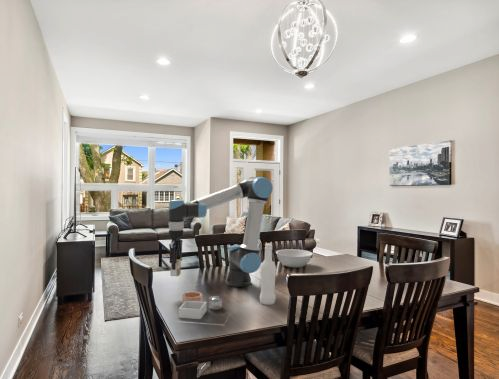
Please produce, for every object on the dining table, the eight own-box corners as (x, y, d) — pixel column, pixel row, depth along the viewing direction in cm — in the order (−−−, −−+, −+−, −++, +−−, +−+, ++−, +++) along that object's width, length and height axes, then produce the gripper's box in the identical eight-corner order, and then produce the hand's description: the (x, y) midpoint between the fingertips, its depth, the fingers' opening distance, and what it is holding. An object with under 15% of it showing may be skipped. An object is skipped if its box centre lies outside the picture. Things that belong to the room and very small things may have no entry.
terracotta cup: (203, 303, 169) (203, 292, 169) (198, 309, 160) (198, 298, 160) (186, 302, 170) (186, 291, 170) (180, 308, 161) (180, 297, 161)
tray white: (206, 312, 157) (206, 302, 157) (200, 321, 147) (200, 309, 147) (185, 311, 158) (185, 300, 158) (178, 319, 148) (178, 308, 148)
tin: (223, 306, 164) (223, 296, 164) (220, 311, 158) (220, 300, 158) (210, 306, 165) (210, 295, 165) (207, 310, 159) (207, 299, 159)
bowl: (272, 262, 262) (272, 249, 262) (306, 261, 265) (306, 249, 265) (279, 271, 235) (279, 256, 234) (317, 270, 238) (317, 256, 237)
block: (180, 274, 177) (180, 259, 177) (177, 276, 173) (178, 260, 173) (173, 273, 178) (173, 258, 178) (170, 275, 174) (170, 260, 174)
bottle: (258, 299, 175) (259, 242, 174) (274, 299, 175) (275, 242, 175) (260, 305, 167) (261, 245, 166) (276, 305, 167) (277, 245, 167)
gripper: (175, 227, 184) (174, 269, 184) (162, 231, 167) (162, 278, 167) (188, 227, 183) (187, 270, 183) (177, 232, 166) (177, 279, 166)
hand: (175, 274), depth 175 cm, fingers closed on block, 4 cm apart
